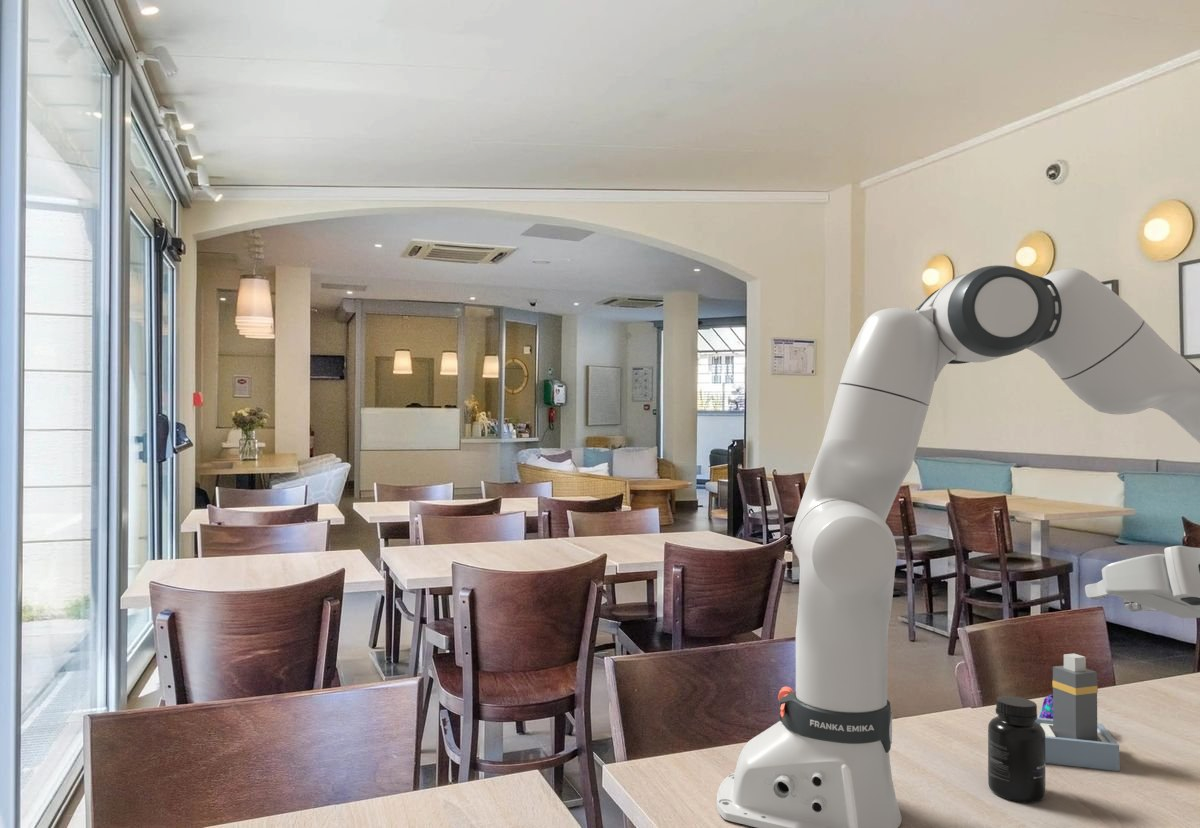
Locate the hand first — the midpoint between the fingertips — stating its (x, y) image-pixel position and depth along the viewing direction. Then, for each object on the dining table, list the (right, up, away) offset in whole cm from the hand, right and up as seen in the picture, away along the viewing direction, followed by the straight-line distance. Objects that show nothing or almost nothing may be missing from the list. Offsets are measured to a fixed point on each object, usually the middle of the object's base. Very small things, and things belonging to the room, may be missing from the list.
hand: (1107, 598), depth 117 cm
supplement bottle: (-16, -24, -7) cm, 30 cm away
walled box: (-4, -24, +7) cm, 25 cm away
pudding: (+3, -25, +16) cm, 30 cm away
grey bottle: (-1, -24, +6) cm, 24 cm away
